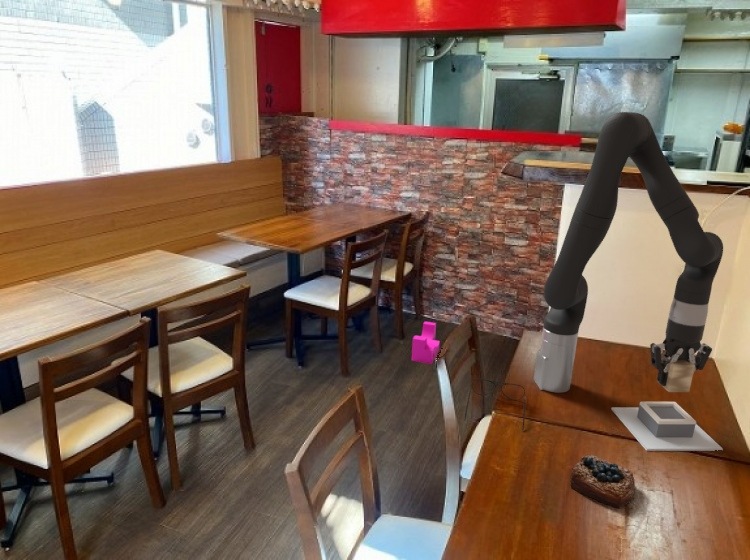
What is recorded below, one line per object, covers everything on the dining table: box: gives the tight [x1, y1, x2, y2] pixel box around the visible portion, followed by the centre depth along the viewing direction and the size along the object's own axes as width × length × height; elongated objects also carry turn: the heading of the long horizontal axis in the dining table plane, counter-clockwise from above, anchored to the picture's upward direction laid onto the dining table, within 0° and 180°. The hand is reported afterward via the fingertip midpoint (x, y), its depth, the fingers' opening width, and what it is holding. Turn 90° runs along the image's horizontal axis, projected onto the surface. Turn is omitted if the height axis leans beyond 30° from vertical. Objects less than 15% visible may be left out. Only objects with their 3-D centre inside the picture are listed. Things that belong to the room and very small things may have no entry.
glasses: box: [464, 378, 526, 431], centre depth 140 cm, size 14×15×5 cm
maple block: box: [656, 357, 695, 393], centre depth 130 cm, size 5×5×7 cm
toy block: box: [411, 321, 441, 365], centre depth 172 cm, size 15×6×8 cm, turn 161°
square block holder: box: [611, 401, 724, 452], centre depth 134 cm, size 18×18×5 cm
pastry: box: [569, 454, 636, 510], centre depth 112 cm, size 11×12×6 cm
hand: (673, 384), depth 131 cm, fingers closed on maple block, 5 cm apart
